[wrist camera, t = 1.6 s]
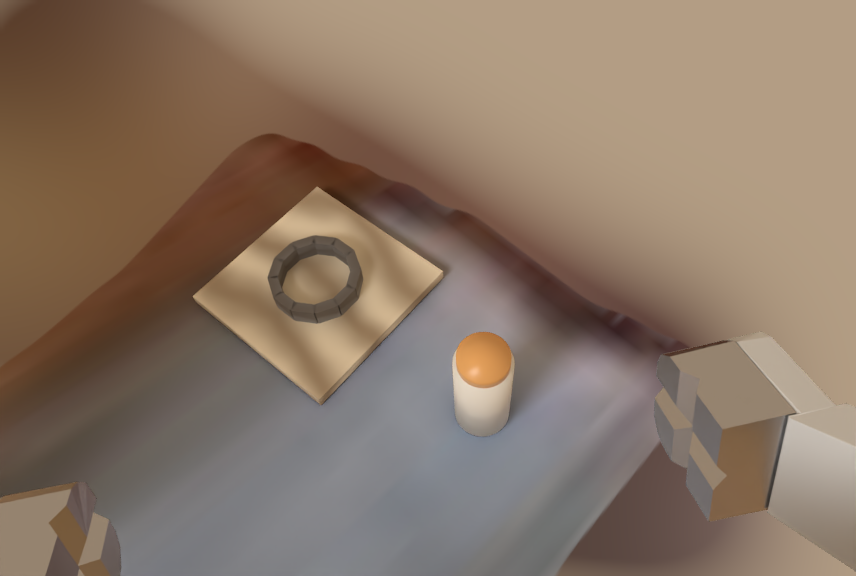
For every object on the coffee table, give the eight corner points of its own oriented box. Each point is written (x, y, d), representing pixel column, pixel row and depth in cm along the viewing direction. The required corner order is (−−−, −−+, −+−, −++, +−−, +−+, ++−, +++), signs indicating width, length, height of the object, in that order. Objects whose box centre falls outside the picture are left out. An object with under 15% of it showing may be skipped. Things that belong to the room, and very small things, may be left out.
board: (321, 405, 68) (314, 391, 66) (196, 302, 75) (186, 285, 72) (443, 277, 75) (442, 260, 72) (318, 193, 82) (313, 174, 79)
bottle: (486, 447, 65) (489, 397, 56) (443, 414, 67) (439, 360, 58) (520, 406, 67) (528, 352, 58) (477, 375, 69) (478, 317, 60)
